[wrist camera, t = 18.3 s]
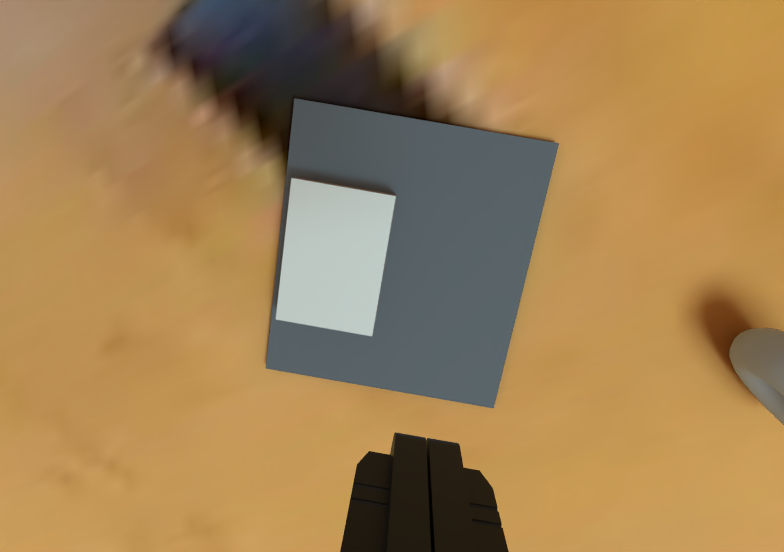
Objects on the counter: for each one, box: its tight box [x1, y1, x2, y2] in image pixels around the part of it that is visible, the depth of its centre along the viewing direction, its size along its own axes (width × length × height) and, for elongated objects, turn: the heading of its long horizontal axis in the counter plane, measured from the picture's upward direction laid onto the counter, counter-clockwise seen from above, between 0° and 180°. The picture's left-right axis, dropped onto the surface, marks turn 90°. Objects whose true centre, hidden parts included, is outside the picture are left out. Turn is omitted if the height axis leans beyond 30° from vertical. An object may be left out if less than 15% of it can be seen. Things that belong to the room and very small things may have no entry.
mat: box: [266, 98, 559, 408], centre depth 32 cm, size 20×18×1 cm
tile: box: [276, 178, 397, 336], centre depth 31 cm, size 10×2×7 cm
